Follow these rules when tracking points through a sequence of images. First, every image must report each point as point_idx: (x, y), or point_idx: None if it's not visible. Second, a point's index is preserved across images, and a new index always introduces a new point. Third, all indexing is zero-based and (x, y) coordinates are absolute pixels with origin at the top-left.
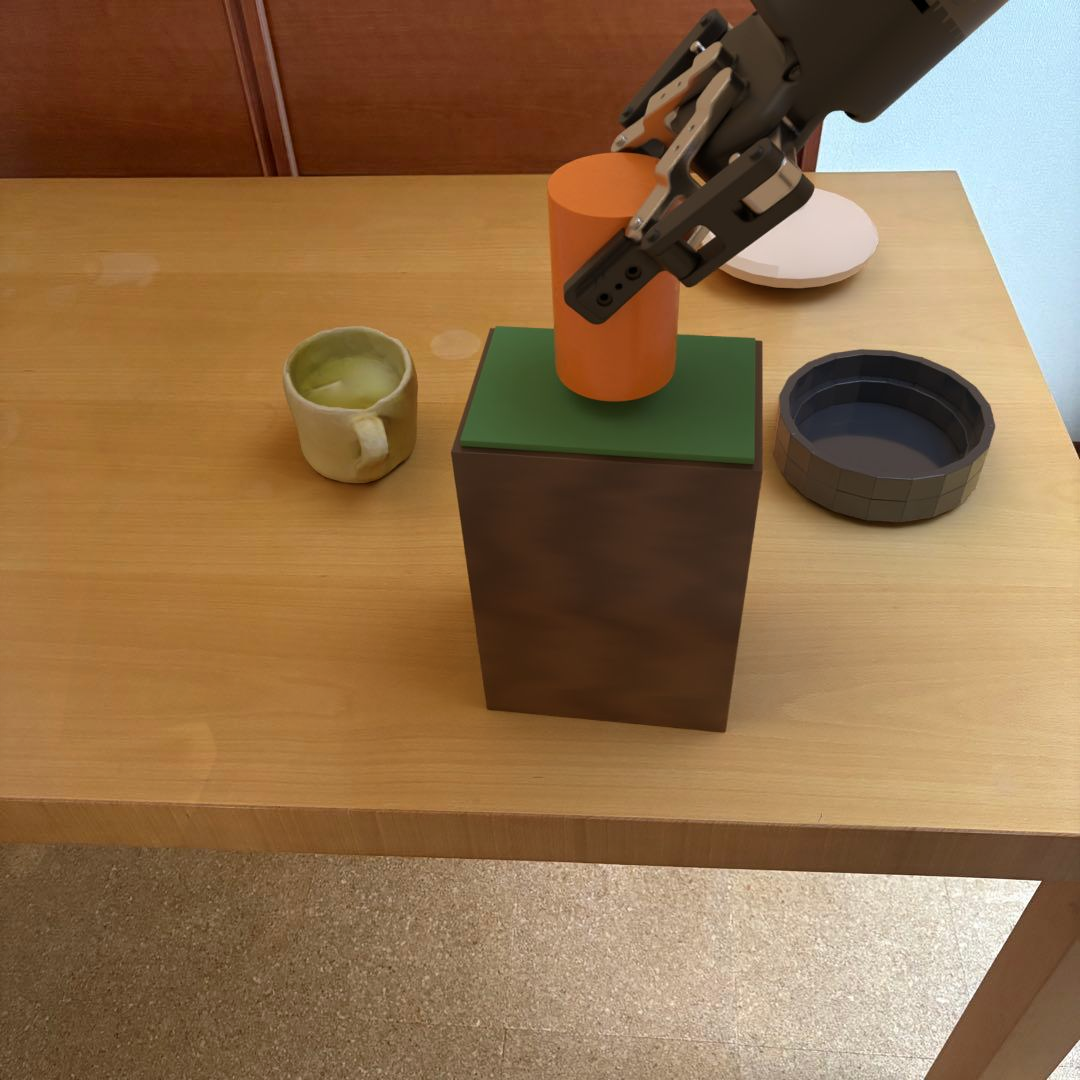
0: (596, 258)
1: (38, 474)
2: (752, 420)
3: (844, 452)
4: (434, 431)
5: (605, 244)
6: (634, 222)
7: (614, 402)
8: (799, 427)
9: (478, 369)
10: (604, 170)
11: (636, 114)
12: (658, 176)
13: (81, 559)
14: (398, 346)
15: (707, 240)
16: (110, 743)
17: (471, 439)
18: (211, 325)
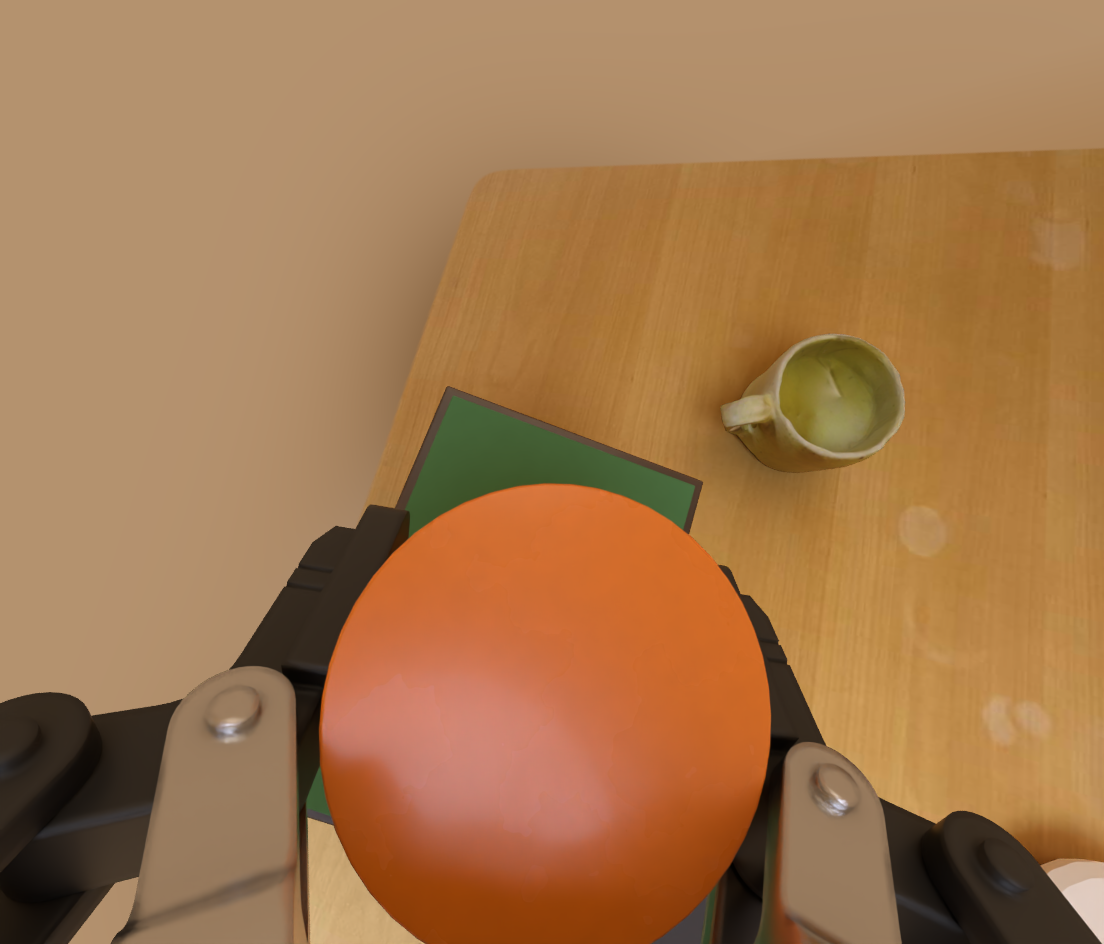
0: (346, 581)
1: (784, 179)
2: None
3: (700, 917)
4: (795, 491)
5: None
6: (214, 706)
7: None
8: None
9: (611, 449)
10: (654, 687)
11: (966, 900)
12: (242, 891)
13: (684, 209)
14: (869, 448)
15: (1085, 870)
16: (504, 228)
17: (448, 408)
18: (968, 310)
